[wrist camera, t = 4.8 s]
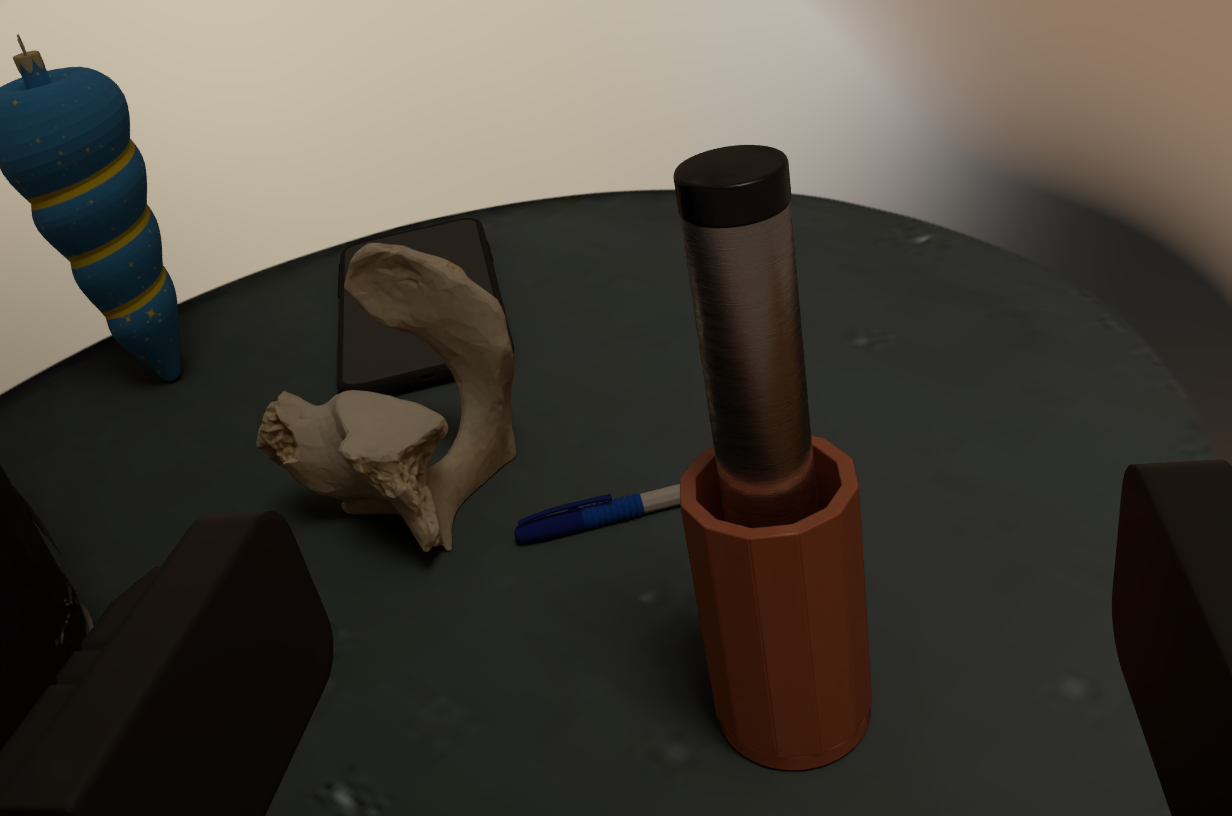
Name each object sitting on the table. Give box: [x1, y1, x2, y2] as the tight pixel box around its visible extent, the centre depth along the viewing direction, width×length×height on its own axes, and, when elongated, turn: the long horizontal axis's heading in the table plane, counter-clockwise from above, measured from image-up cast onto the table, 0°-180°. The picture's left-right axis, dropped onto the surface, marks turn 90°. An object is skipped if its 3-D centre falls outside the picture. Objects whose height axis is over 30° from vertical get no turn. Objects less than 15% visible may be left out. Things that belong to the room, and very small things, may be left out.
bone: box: [256, 243, 517, 552], centre depth 35 cm, size 9×6×10 cm
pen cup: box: [680, 436, 872, 770], centre depth 25 cm, size 4×4×7 cm
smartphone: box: [337, 218, 514, 395], centre depth 49 cm, size 7×1×15 cm
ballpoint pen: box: [514, 484, 680, 543], centre depth 34 cm, size 10×1×1 cm, turn 102°
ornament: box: [0, 35, 181, 381], centre depth 44 cm, size 5×5×15 cm
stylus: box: [674, 145, 818, 528], centre depth 23 cm, size 2×2×14 cm
